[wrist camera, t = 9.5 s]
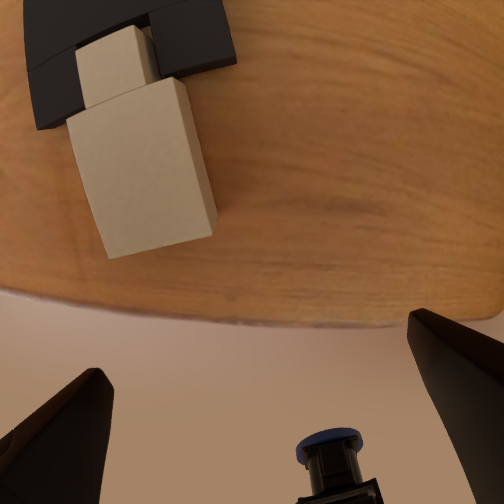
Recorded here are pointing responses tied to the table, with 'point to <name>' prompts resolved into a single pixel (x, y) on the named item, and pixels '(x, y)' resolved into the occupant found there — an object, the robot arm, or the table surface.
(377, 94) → the table surface
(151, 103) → the beige stepped block
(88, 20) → the socket pad
